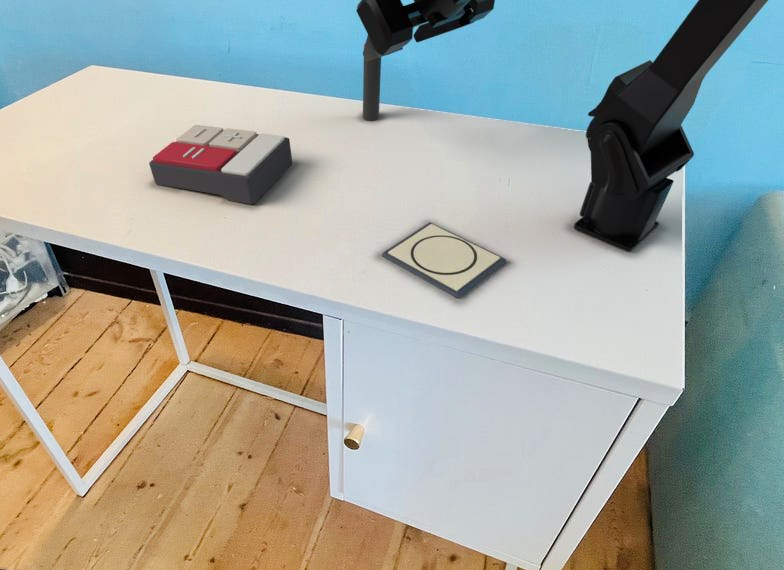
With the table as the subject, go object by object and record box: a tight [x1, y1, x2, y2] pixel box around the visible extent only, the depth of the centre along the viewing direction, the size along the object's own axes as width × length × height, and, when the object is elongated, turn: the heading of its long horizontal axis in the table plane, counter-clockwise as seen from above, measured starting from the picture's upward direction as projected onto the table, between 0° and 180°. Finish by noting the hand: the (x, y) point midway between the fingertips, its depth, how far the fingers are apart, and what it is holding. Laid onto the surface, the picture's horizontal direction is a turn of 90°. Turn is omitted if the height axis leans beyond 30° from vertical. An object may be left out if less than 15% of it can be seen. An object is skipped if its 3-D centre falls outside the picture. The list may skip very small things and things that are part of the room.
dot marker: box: [362, 43, 382, 122], centre depth 81 cm, size 2×2×10 cm
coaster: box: [381, 221, 507, 299], centre depth 60 cm, size 10×8×1 cm
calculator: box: [148, 124, 293, 205], centre depth 73 cm, size 11×4×15 cm
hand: (390, 48), depth 75 cm, fingers open, 9 cm apart
